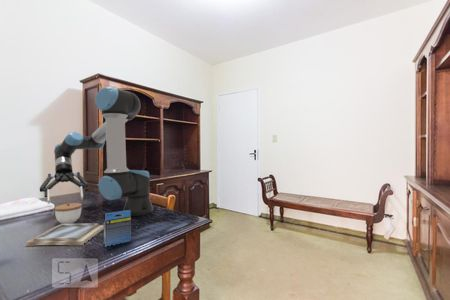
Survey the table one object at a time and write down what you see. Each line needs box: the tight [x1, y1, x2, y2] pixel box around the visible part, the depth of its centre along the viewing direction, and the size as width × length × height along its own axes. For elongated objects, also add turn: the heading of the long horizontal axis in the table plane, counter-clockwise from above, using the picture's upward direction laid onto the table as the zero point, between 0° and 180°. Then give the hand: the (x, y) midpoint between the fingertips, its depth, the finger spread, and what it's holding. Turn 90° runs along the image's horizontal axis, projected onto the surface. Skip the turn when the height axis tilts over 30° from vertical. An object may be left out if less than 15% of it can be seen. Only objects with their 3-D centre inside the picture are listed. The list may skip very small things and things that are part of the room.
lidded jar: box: [54, 202, 82, 225], centre depth 109 cm, size 11×11×9 cm
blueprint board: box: [25, 222, 104, 247], centre depth 92 cm, size 20×17×2 cm
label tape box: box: [103, 210, 132, 248], centre depth 86 cm, size 9×4×12 cm, turn 126°
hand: (65, 200), depth 113 cm, fingers open, 13 cm apart
